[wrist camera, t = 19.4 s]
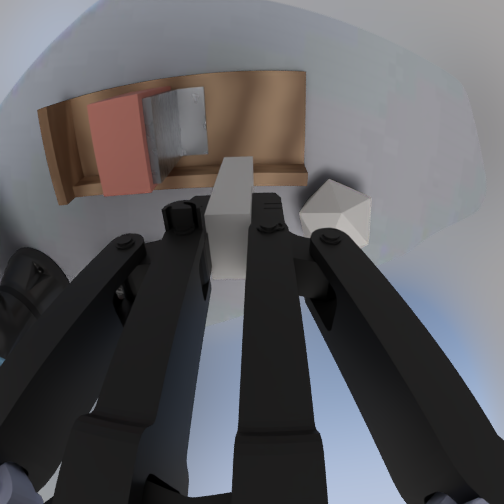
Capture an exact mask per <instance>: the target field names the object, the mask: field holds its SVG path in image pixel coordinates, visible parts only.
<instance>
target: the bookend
mask: <svg viewBox="0 0 504 504" xmlns="http://www.w3.org/2000/svg"><path fill="white" fill-rule="evenodd" d="M142 105H143V114H144V123H145V131H146V138H147V146H148V153H149V159H150V166H151V172H152V178H153V184H160V183H162V182H163V181H164V179H165V178H166V177H167V176H168V174H169V173H170V172H171V170H172V169H173V168H174V167H175V165H176V164H177V163H178V162H179V160H180V159H181V158H182V157H183V156H188V155H204V154H209V152H208V139H207V125H206V110H205V95H204V87H193V88H184V89H175V90H169V91H166V92H162V93H159V94H155V95H152V96H149V97H146V98H142Z"/></svg>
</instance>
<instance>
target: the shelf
mask: <svg viewBox="0 0 504 504" xmlns="http://www.w3.org/2000/svg"><path fill="white" fill-rule="evenodd" d="M165 86H171V90H175V89H184V88H193V87H204V95H205V110H206V125H207V139H208V152H209V154H204V155H188V156H183V157H182V158H181V159H180V160H179V162H178V163H177V164H176V165H175V167H174V168H173V169H172V170H171V172H170V173H169V174H168V176H167V177H166V178H165V179H164V181H163V182H162V183H160V184H158V185H157V186H156V187H155V189H154V190H162V189H179V188H199V187H214V184H215V182H216V179H217V176H218V173H219V170H220V167H221V164H222V162H223V159H224V157H247V156H253V179H254V186H307V180H308V172H307V170H306V168H305V165H304V146H305V105H306V72H302V71H236V72H219V73H206V74H196V75H186V76H178V77H171V78H164V79H157V80H151V81H145V82H140V83H134V84H129V85H124V86H120V87H115V88H111V89H106V90H102V91H98V92H94V93H90V94H87V95H83V96H80V97H76V98H73V99H69V100H66V101H63V102H59V103H56V104H53V105H50V106H47V107H44V108H41V109H39V110H37V112H38V118H39V124H40V129H41V135H42V140H43V145H44V150H45V154H46V159H47V163H48V167H49V171H50V175H51V179H52V183H53V186H54V190H55V194H56V197H57V200H58V204H59V205H67V204H69V203H70V202H71V201H72V200H73V199H74V198H75V197H83V196H92V195H102V194H103V190H102V186H101V181H100V177H99V172H98V167H97V162H96V157H95V152H94V147H93V142H92V136H91V130H90V124H89V117H88V110H87V105H88V104H91V103H95V102H98V101H101V100H104V99H108V98H111V97H115V96H118V95H122V94H126V93H129V92H135V91H140V90H146V89H152V88H158V87H165Z"/></svg>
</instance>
